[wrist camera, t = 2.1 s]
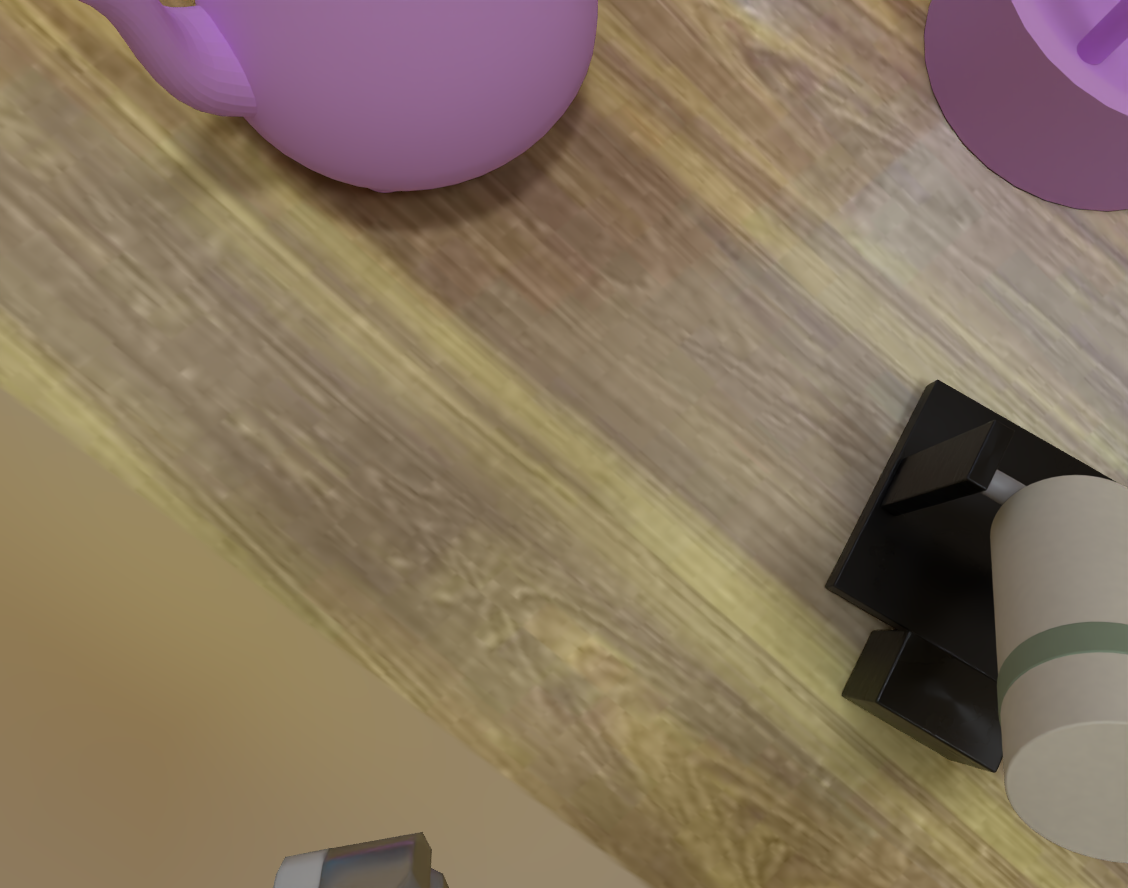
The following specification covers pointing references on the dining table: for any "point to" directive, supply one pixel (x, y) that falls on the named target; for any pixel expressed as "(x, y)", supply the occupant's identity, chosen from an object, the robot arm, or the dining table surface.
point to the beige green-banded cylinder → (1064, 657)
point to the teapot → (373, 77)
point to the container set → (1038, 92)
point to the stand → (938, 574)
